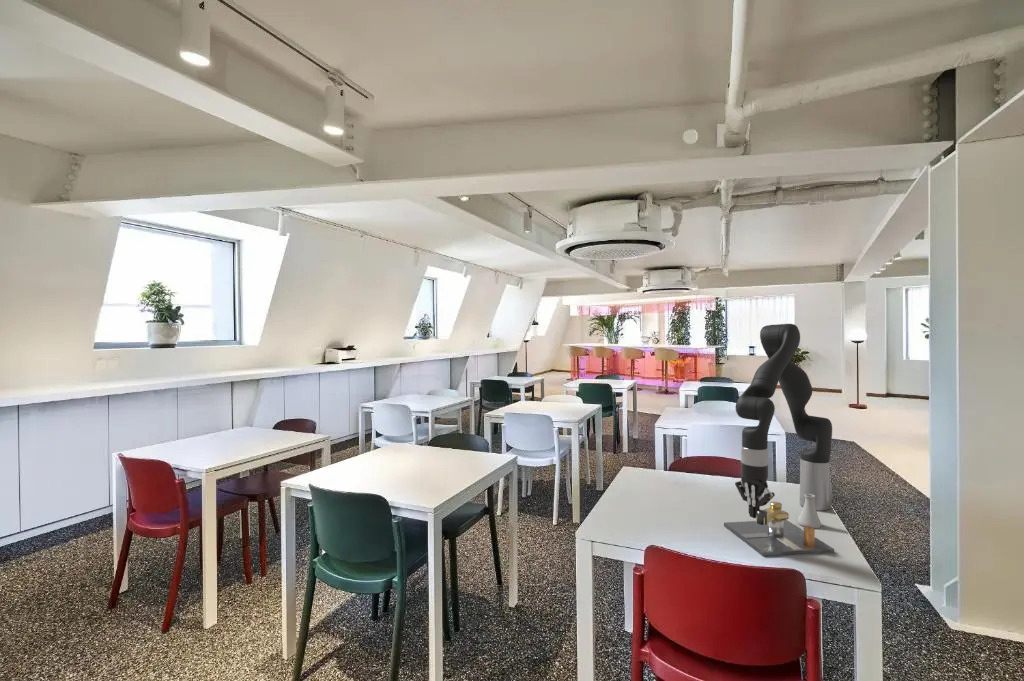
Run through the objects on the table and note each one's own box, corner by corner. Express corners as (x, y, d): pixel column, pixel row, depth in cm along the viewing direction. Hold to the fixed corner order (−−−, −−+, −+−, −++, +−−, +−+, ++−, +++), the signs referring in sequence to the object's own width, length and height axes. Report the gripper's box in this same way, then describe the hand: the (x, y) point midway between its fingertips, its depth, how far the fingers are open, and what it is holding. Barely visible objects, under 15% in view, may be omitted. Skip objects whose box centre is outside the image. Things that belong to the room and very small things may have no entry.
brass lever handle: (768, 509, 161) (768, 497, 161) (792, 516, 156) (792, 503, 156) (747, 522, 151) (747, 509, 151) (772, 529, 146) (772, 515, 146)
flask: (821, 530, 162) (822, 500, 162) (796, 526, 166) (796, 496, 166) (822, 523, 168) (822, 494, 168) (797, 518, 172) (797, 490, 172)
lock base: (785, 523, 169) (786, 502, 168) (834, 552, 147) (834, 529, 146) (723, 526, 166) (724, 505, 166) (763, 556, 144) (763, 533, 144)
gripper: (782, 465, 148) (781, 522, 149) (745, 454, 160) (744, 507, 161) (764, 469, 145) (763, 527, 146) (728, 457, 157) (727, 511, 158)
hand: (753, 516), depth 153 cm, fingers closed
